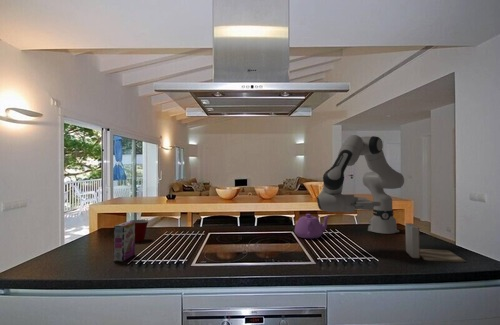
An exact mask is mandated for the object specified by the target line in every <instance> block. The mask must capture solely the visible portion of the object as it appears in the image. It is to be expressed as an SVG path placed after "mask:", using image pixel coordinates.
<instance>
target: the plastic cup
mask: <svg viewBox="0 0 500 325" xmlns="http://www.w3.org/2000/svg"><path fill="white" fill-rule="evenodd" d="M129 222H135V242H136V243H139V242H144V241H145V238H146V234H147V226H148V224H149V222H150V220H148V219H147V220H146V219H131V220H130V221H129Z"/></svg>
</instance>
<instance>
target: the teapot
mask: <svg viewBox="0 0 500 325" xmlns="http://www.w3.org/2000/svg"><path fill="white" fill-rule="evenodd" d="M330 216H331V214H328V215H326V216H324V217H323V218H324V219H323V224H321V222H320V220H319V219H318V217H316V216H313V215H312V214H311V213H305V216H301V217H299V218H298V220H297V221H296V224H295V226H294V233H295V235H296V236H297V237H299V238H301V239H314V238H315V239H318V238H320V237H321V236H322V235H323V234H324V231H326V230H327V228H328V218H329V217H330Z"/></svg>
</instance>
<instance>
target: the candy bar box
mask: <svg viewBox="0 0 500 325" xmlns="http://www.w3.org/2000/svg"><path fill="white" fill-rule="evenodd" d="M135 244H136V243H135V222H130V221H125V222H122V223H119V224H116V225H114V226H113V262H117V263H119V262H120V263H122V262H123V263H124V262H125V261H126V260H128V259H130V258H131V257H133V256H135V252H136V250H135V247H136V246H135Z"/></svg>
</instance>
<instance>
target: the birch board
mask: <svg viewBox="0 0 500 325" xmlns="http://www.w3.org/2000/svg"><path fill="white" fill-rule="evenodd" d="M420 259H422V260H424V261H432V262H448V263H464V262H465V263H466V260H465V259H464V258H462V257H460V256H459V255H457V254H456V253H454V252H452V251H451V250H449V249H448V250H447V249H430V248H429V249H428V248H425V249H424V248H420Z"/></svg>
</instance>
